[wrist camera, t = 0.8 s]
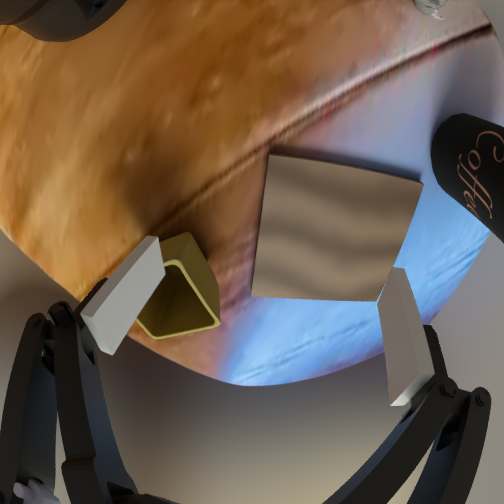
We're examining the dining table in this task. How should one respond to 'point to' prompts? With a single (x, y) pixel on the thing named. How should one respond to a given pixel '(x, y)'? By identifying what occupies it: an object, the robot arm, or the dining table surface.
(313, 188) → the walnut board
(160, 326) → the flower pot
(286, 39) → the dining table surface
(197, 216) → the dining table surface
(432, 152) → the coffee jar
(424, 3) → the chubby cartoon animal
